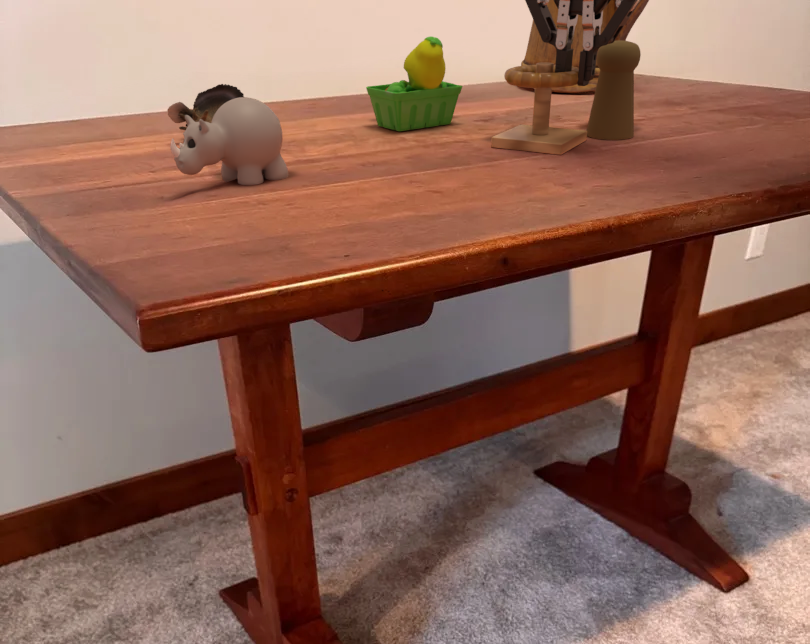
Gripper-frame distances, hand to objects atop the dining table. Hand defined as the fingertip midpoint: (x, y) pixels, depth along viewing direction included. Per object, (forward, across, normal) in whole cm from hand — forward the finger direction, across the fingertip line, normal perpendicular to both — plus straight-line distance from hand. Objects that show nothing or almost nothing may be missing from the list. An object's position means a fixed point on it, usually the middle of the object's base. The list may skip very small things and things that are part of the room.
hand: (574, 83), depth 93 cm
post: (+7, -4, 0) cm, 8 cm away
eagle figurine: (+7, -42, -17) cm, 46 cm away
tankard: (+7, -14, +45) cm, 48 cm away
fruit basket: (+7, -23, +3) cm, 24 cm away
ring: (-1, -4, 0) cm, 4 cm away
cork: (+7, +2, +9) cm, 12 cm away
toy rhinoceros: (+7, -24, -34) cm, 42 cm away
